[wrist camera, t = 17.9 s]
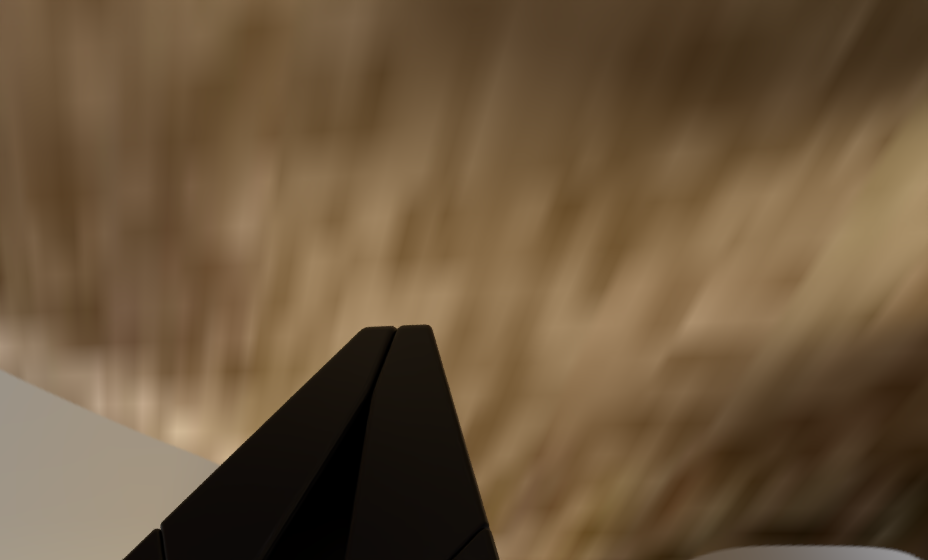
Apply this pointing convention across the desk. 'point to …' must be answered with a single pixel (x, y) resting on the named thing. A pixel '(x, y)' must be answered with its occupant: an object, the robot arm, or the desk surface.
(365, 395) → the robot arm
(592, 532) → the desk surface
